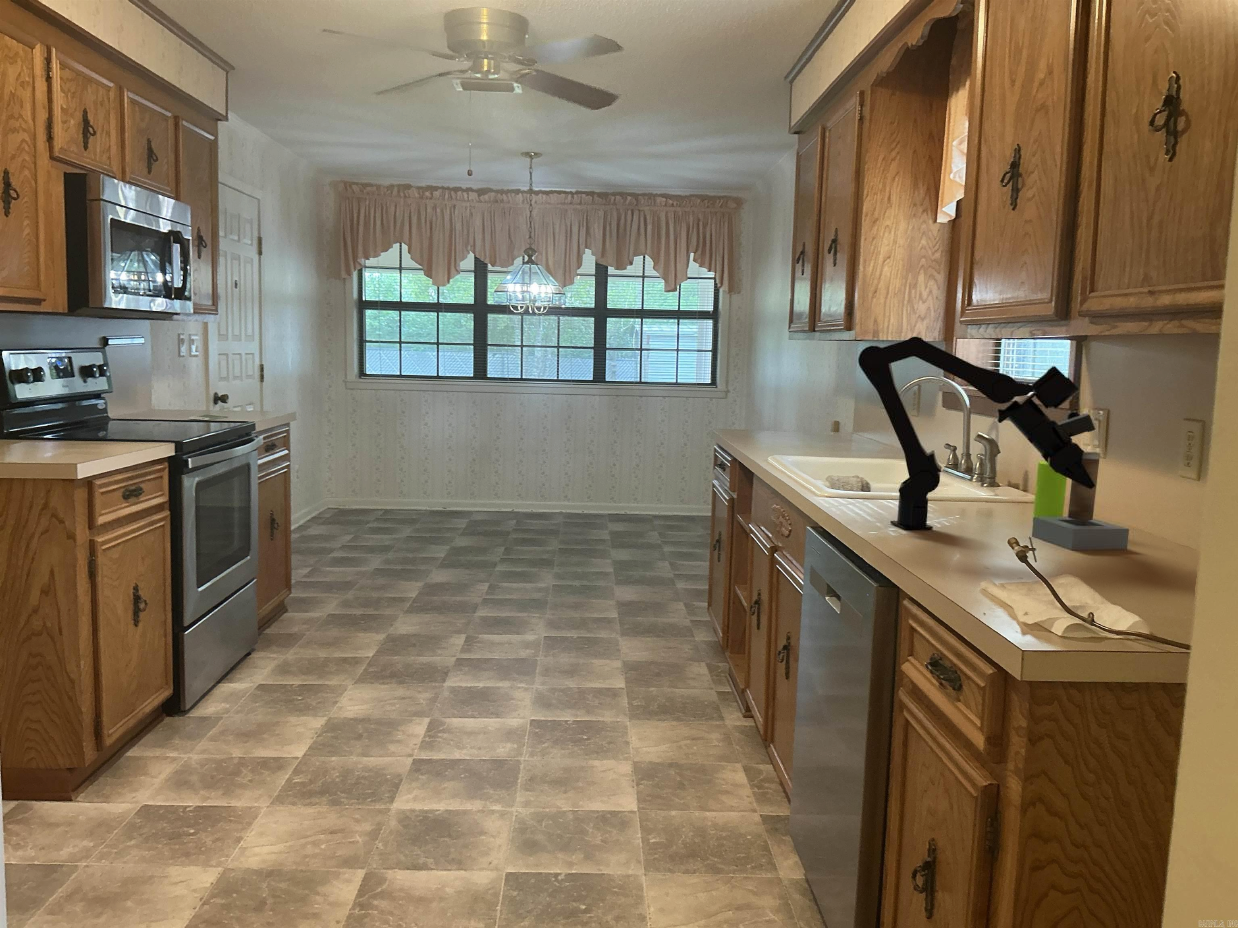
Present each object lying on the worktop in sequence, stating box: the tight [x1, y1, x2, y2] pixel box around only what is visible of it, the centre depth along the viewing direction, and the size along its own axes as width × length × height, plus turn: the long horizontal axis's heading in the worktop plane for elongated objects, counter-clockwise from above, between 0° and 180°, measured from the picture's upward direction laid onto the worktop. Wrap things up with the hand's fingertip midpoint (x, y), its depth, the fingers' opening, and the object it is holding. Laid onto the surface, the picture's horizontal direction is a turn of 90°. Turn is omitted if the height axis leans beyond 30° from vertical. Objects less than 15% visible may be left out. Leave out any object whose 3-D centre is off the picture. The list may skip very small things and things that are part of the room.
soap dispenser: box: [1032, 459, 1068, 519], centre depth 201 cm, size 6×7×20 cm
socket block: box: [1031, 516, 1130, 551], centre depth 182 cm, size 12×12×4 cm
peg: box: [1067, 450, 1101, 521], centre depth 180 cm, size 4×4×13 cm
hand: (1091, 485), depth 180 cm, fingers closed on peg, 4 cm apart
